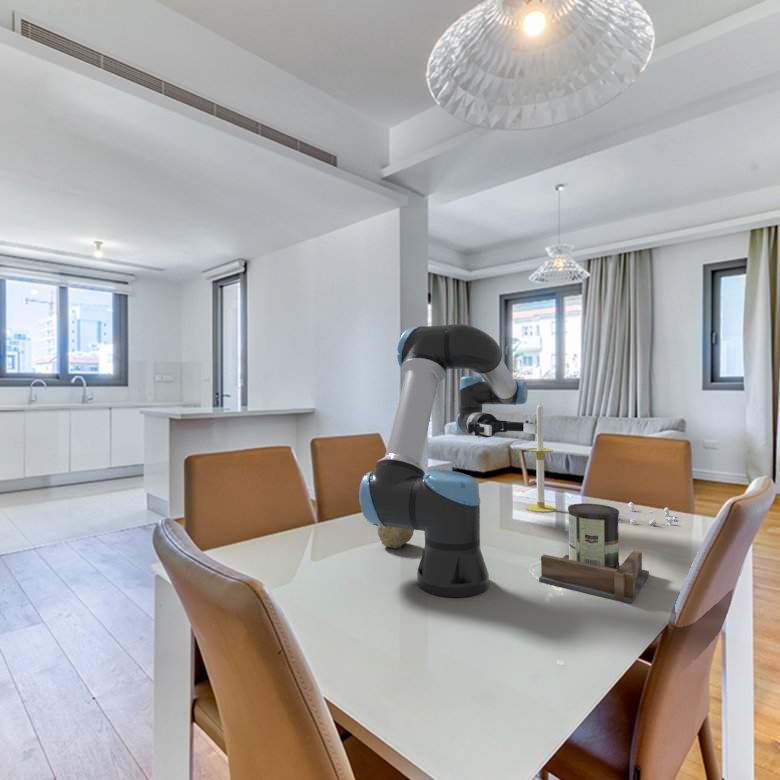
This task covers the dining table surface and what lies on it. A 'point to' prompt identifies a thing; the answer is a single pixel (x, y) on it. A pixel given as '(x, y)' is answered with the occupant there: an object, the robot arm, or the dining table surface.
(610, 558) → the coffee can
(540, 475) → the candle
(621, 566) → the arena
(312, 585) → the dining table surface
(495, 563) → the dining table surface
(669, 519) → the game piece set
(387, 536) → the coral
